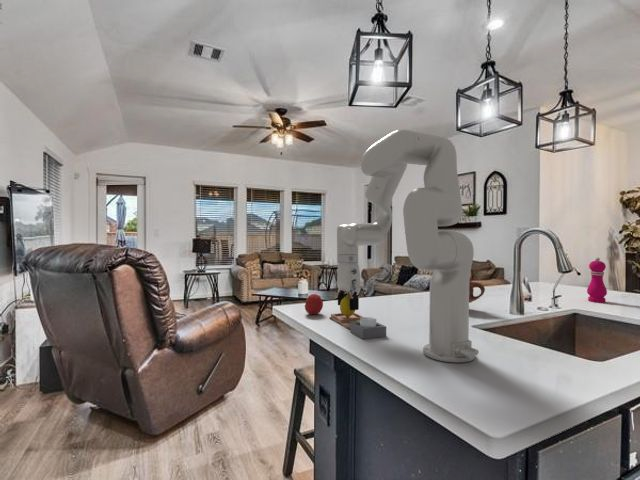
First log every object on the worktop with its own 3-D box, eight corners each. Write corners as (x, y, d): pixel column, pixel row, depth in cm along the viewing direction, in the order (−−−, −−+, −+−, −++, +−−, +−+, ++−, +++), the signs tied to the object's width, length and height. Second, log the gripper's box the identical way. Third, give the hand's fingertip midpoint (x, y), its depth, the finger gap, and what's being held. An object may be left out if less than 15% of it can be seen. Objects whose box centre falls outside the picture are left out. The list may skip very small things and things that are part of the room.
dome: (379, 333, 111) (379, 320, 111) (364, 335, 109) (364, 321, 109) (371, 329, 116) (371, 316, 115) (357, 331, 114) (357, 318, 114)
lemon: (354, 320, 127) (354, 297, 126) (338, 319, 128) (338, 296, 128) (356, 316, 132) (356, 294, 132) (341, 315, 133) (341, 294, 133)
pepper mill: (582, 300, 167) (583, 256, 167) (594, 299, 170) (595, 256, 169) (599, 303, 160) (599, 258, 160) (610, 302, 163) (611, 257, 162)
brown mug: (488, 310, 147) (489, 275, 147) (481, 315, 137) (481, 278, 137) (439, 304, 159) (439, 272, 159) (429, 308, 149) (429, 274, 149)
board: (380, 328, 119) (380, 323, 119) (353, 331, 115) (353, 326, 115) (354, 316, 136) (354, 311, 136) (329, 318, 132) (329, 314, 132)
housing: (386, 336, 110) (386, 326, 110) (362, 339, 107) (362, 329, 107) (372, 329, 117) (372, 320, 117) (350, 332, 114) (350, 322, 114)
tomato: (325, 292, 139) (306, 287, 141) (318, 307, 133) (298, 302, 135) (325, 305, 144) (307, 300, 146) (319, 321, 138) (300, 315, 141)
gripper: (369, 260, 123) (369, 311, 123) (346, 257, 139) (346, 302, 139) (349, 261, 120) (349, 313, 120) (328, 258, 136) (328, 303, 136)
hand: (347, 307), depth 130 cm, fingers open, 9 cm apart
